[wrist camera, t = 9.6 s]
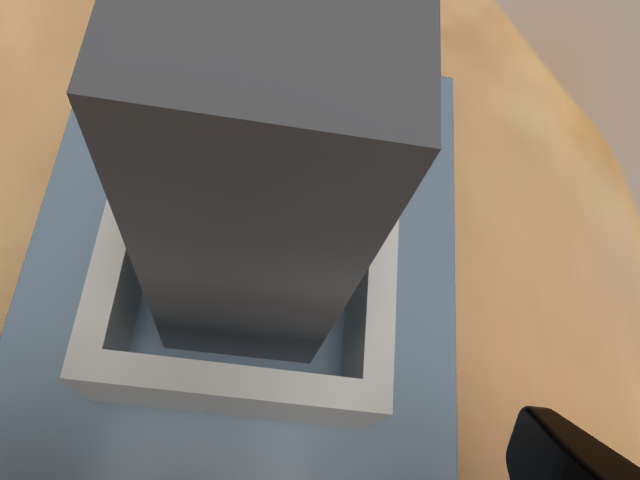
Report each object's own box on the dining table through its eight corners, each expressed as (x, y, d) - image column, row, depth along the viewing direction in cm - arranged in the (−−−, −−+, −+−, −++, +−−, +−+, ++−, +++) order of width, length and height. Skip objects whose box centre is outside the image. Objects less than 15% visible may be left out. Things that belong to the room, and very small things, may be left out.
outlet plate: (446, 664, 17) (517, 715, 13) (-75, 628, 15) (-182, 672, 11) (444, 93, 25) (487, 14, 21) (104, 36, 24) (80, -60, 20)
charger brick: (310, 363, 19) (441, 148, 7) (164, 348, 18) (66, 93, 7) (320, 233, 21) (438, -97, 9) (188, 216, 20) (143, -154, 9)
